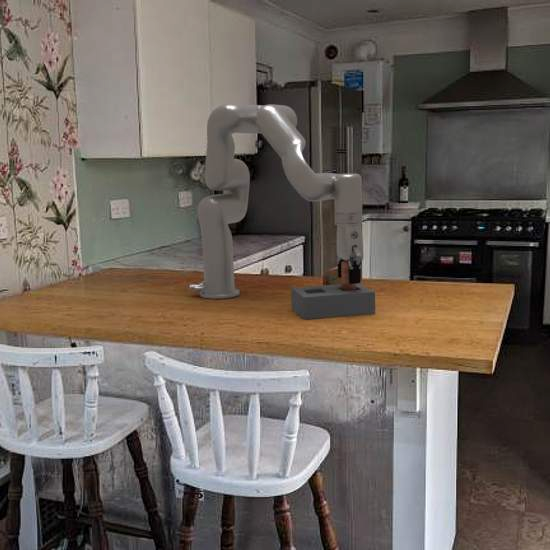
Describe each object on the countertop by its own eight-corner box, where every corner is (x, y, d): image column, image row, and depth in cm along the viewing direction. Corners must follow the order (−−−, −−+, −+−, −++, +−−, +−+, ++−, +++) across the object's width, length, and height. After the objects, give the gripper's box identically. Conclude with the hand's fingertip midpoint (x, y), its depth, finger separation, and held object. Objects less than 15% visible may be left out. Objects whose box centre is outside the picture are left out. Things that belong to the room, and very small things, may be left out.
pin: (344, 306, 192) (343, 263, 190) (340, 303, 196) (339, 261, 194) (358, 305, 193) (357, 262, 190) (353, 302, 197) (353, 260, 194)
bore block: (304, 319, 185) (303, 297, 184) (291, 308, 198) (291, 287, 197) (375, 313, 189) (375, 292, 188) (358, 303, 202) (357, 282, 201)
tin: (329, 298, 211) (329, 270, 209) (321, 297, 212) (320, 270, 211) (354, 289, 222) (354, 263, 221) (345, 288, 224) (345, 263, 223)
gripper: (372, 221, 182) (372, 285, 185) (351, 215, 199) (351, 274, 202) (345, 222, 181) (345, 287, 184) (326, 217, 198) (327, 276, 201)
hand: (349, 280), depth 193 cm, fingers open, 9 cm apart
